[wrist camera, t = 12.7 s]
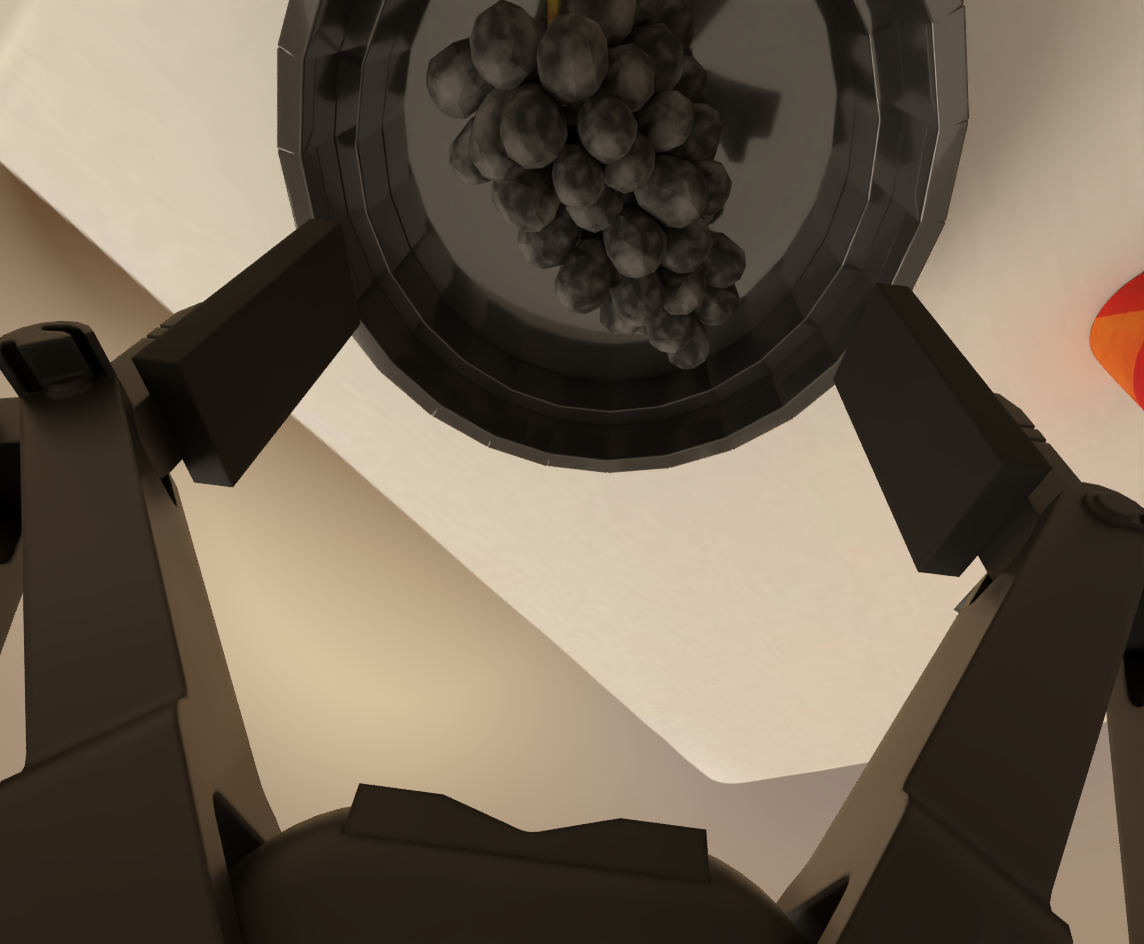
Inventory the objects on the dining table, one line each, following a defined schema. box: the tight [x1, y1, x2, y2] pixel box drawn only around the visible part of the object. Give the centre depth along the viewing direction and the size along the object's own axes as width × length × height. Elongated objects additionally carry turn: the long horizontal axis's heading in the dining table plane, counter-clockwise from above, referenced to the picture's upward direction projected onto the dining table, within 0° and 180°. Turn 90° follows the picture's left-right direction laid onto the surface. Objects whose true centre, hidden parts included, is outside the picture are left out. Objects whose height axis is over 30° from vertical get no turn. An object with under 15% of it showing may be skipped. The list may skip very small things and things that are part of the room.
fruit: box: [426, 0, 746, 369], centre depth 20 cm, size 9×8×15 cm
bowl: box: [277, 0, 969, 473], centre depth 22 cm, size 22×22×6 cm
